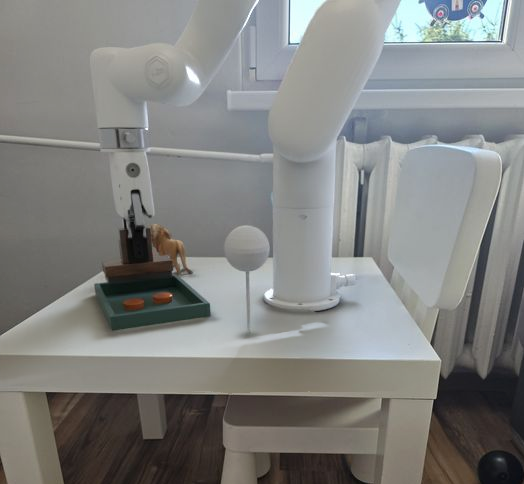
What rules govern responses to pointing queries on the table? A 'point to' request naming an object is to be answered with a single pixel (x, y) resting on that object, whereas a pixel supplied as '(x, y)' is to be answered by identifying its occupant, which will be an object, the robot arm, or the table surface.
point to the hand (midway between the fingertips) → (137, 259)
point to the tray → (150, 302)
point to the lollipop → (246, 254)
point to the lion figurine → (168, 246)
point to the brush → (136, 264)
